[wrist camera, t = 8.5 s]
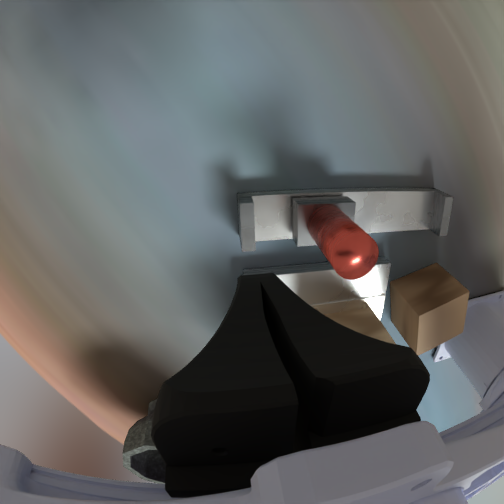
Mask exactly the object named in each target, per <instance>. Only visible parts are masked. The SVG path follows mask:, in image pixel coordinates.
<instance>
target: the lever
mask: <svg viewBox="0 0 504 504" xmlns="http://www.w3.org/2000/svg"><path fill="white" fill-rule="evenodd" d="M355 207H356V202H354V201H353V200H352V199H350V198H349V197H347V196H339V197H312V198H293V227H292V238H293V240H294V241H295V243H296V245H297V247H299V246H312V245H318V247H319V248H320V250H321V251H322V253H323V254H324V255H325V257H326V258H327V260H328V261H329V263H330V264H331V265H332V267H333V268H334V270H335V271H336V273H337V274H338V275H339V276H340V277H342V278H344V279H348V280H355V279H359V278H361V277H363V276H365V275H367V274H368V273H369V272H370V271H371V270H372V269H373V267H374V266H375V264H376V262H377V259H378V254H379V251H378V246H377V244H376V242H375V241H374V239H373V238H371V237H370V236H369V235H368V234H367V233H366V232H365V231H364V230H363V229H362V228H360V227H359V226H358V225H357V224H356V223H355V222H354V220H355Z"/></svg>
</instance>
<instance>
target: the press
mask: <svg viewBox="0 0 504 504" xmlns="http://www.w3.org/2000/svg"><path fill="white" fill-rule="evenodd" d="M390 267H391V263H390V262H389V261H388V260H387V259H386V258H385V257H384V256H383V257H378V259H377V262H376V264H375V266H374V267H373V269H372V270H371V271H370V272H369V273H368V274H367V275H365V276H363V277H361V278H359V279H355V280H348V279H344V278H342V277H340V276H339V275H338V274H337V273H336V271H335V270H334V268H333V267H332V265H331V264H330V263H329V262H321V263H311V264H300V265H288V266H277V267H265V268H254V269H243V275H251V274H263V273H274V274H275V275H276V276H277V277H279V278H280V279H281V280H282V281H283V282H284V283H285V284H286V285H287V286H288V287H289V288H290V289H291V290H292V291H293V292H294V293H295V294H297V295H298V296H299V297H300V298H301V299H302V300H304V301H305V302H306V303H308V304H309V305H310V306H312V307H313V308H314V309H316V310H317V311H319V312H320V313H322V314H330V313H337V312H344V311H351V310H358V309H364V308H372V310H373V311H374V313H375V314H376V316H377V317H378V318H379V320H380V319H381V315H382V311H383V306H384V302H385V297H386V295H385V294H386V289H387V284H388V278H389V273H390Z"/></svg>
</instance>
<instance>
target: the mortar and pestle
mask: <svg viewBox="0 0 504 504" xmlns="http://www.w3.org/2000/svg"><path fill="white" fill-rule="evenodd" d="M156 401H157V399H155V400H154V401H152V402H150V403H149V408H148V416H146V417H144V418H142V419H140V420H138V421H137V422H136V423H135V424H134V425H133V426H132V427H131V428H130V429H129V431H128V434H127V436H126V439H125V442H124V448H123V466H124V467H125V468H126V469H128V470H130V471H131V472H132V473H134V474H135V475H137V476H138V477H140V478H141V479H144V480H147V481H151V482H154V483H158V484H165V473H166V464H165V462H164V461H163V459H162V457H161V455H160V454H159V452H158V450H157V449H156V447H155V445H154V443H153V441H152V438H151V428H152V419H153V412H154V408H155V405H156Z"/></svg>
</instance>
